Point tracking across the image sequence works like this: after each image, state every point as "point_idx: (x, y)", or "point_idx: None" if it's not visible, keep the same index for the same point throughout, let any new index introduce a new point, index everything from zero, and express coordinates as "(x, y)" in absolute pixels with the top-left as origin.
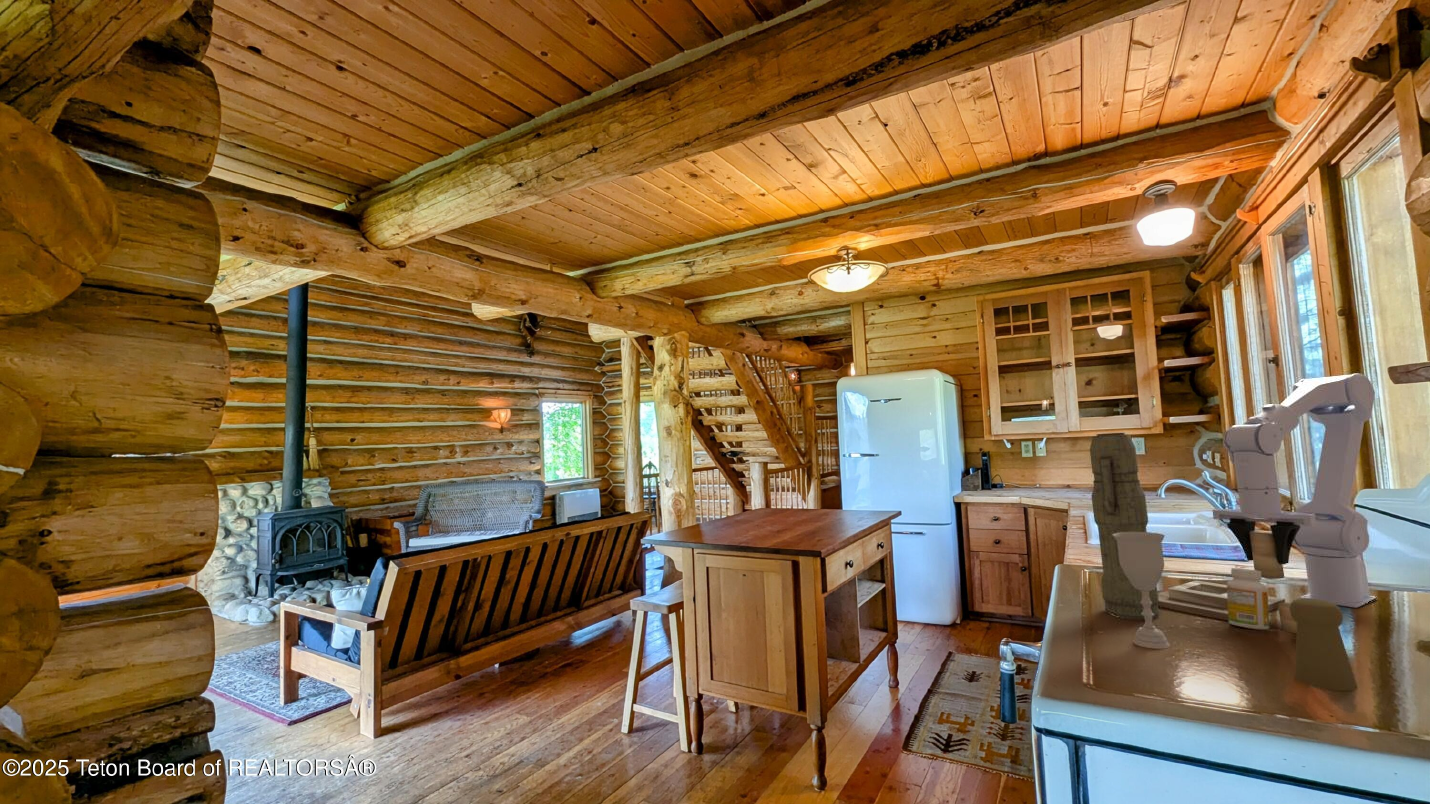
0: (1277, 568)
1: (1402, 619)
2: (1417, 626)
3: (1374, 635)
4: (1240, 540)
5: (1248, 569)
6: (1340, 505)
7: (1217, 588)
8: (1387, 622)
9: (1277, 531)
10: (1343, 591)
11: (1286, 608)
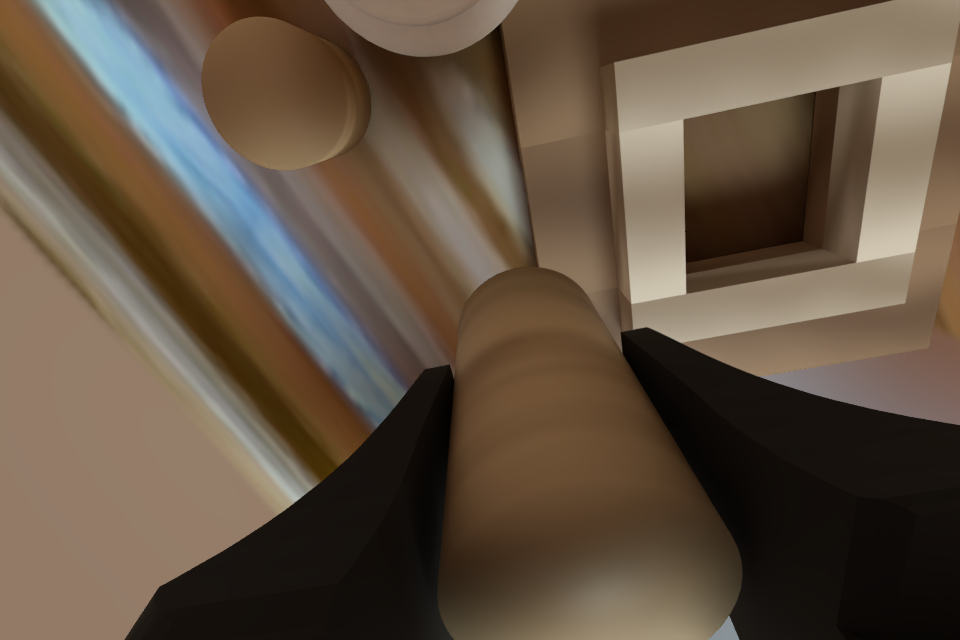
0: (459, 341)
1: (299, 492)
2: (232, 457)
3: (181, 267)
4: (760, 388)
5: (454, 6)
6: None
7: (770, 273)
8: (288, 437)
9: (279, 559)
10: None
11: (259, 19)
